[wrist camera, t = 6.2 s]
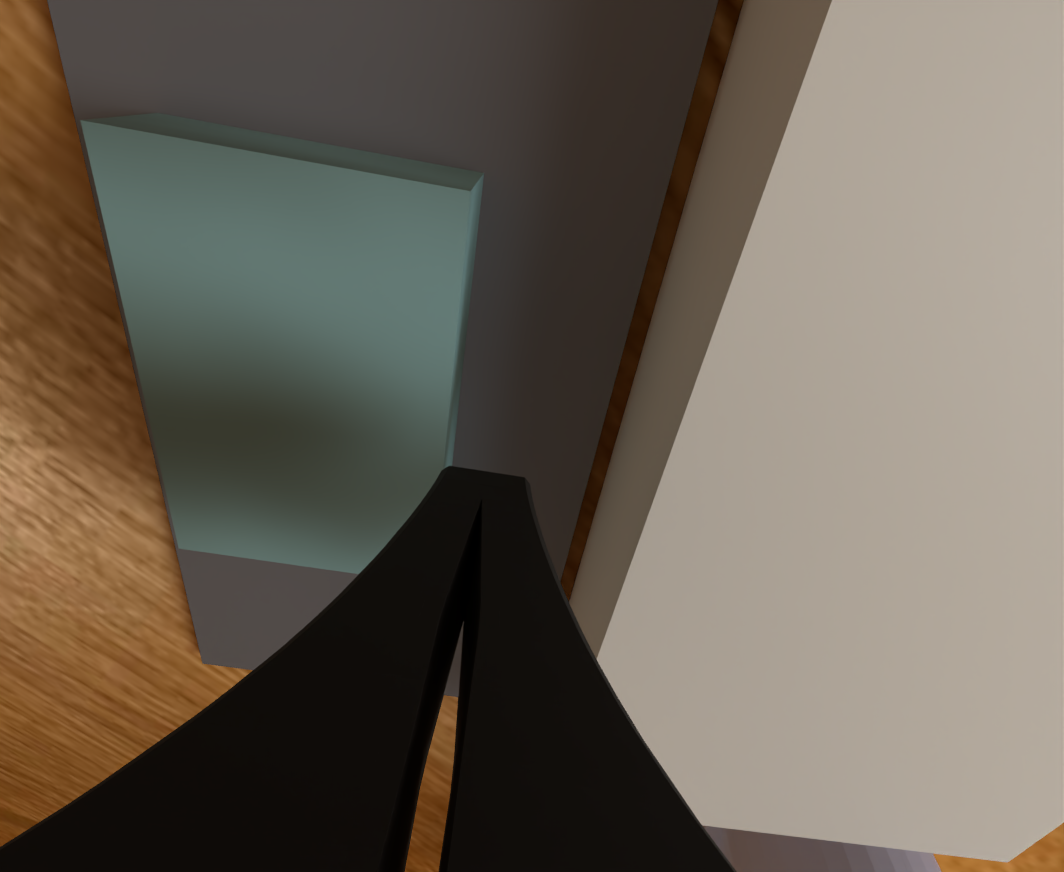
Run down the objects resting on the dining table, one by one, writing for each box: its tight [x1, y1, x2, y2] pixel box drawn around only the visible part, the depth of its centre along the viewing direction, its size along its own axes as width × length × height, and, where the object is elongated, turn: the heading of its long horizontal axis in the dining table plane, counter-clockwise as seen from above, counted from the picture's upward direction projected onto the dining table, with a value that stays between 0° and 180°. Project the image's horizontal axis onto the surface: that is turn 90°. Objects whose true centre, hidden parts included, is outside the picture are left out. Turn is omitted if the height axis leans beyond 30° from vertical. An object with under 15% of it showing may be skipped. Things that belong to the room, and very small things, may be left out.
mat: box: [47, 0, 718, 697], centre depth 14 cm, size 22×11×1 cm, turn 171°
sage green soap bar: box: [80, 113, 484, 574], centre depth 12 cm, size 9×6×2 cm, turn 171°
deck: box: [569, 0, 1064, 862], centre depth 12 cm, size 22×14×4 cm, turn 171°
